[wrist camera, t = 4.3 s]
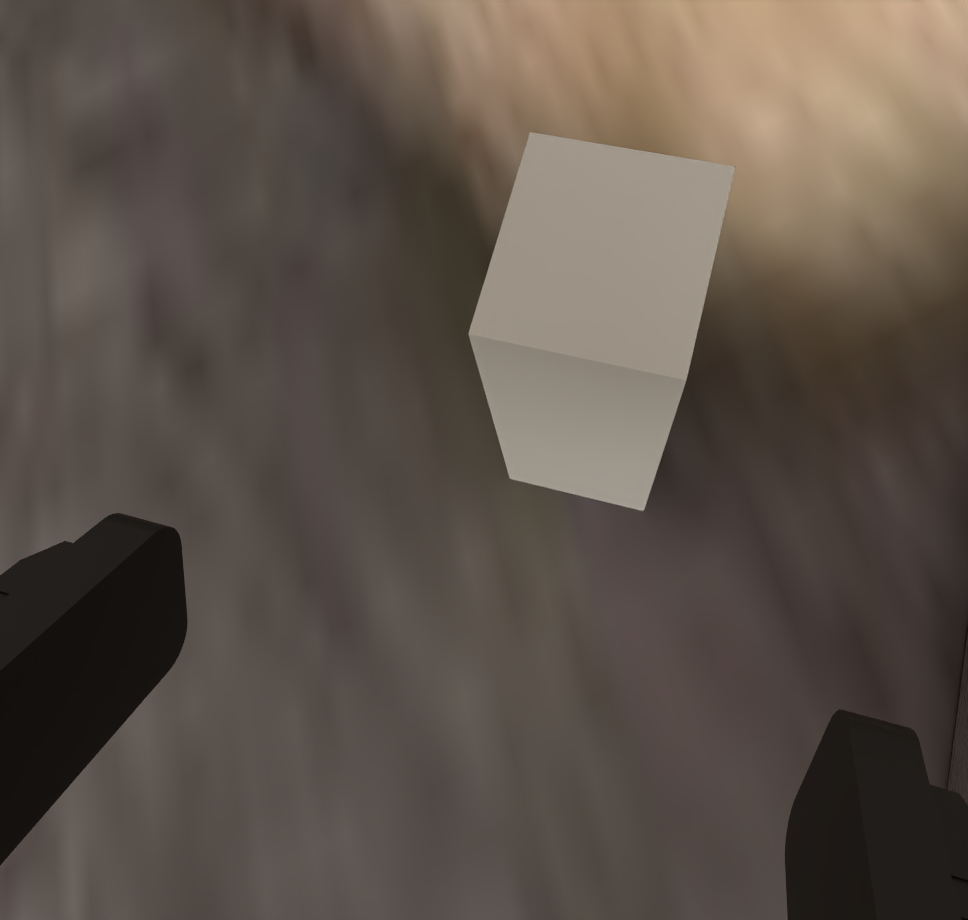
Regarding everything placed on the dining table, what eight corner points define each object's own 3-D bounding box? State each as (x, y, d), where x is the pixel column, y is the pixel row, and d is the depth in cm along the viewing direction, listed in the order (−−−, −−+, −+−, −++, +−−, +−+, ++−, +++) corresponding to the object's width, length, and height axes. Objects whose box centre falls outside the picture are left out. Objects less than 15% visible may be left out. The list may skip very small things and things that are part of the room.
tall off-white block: (551, 328, 24) (537, 108, 15) (680, 354, 23) (741, 141, 14) (509, 478, 23) (468, 333, 14) (643, 511, 22) (686, 380, 13)
